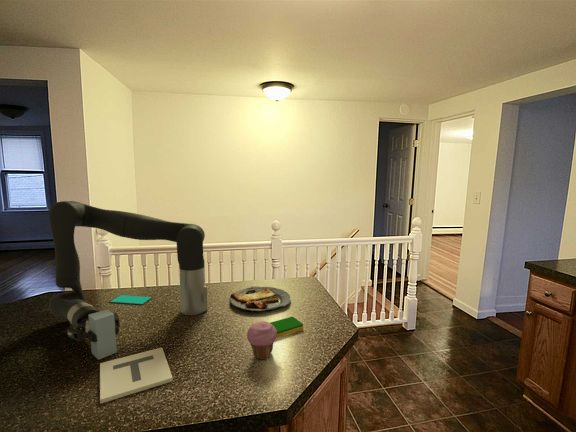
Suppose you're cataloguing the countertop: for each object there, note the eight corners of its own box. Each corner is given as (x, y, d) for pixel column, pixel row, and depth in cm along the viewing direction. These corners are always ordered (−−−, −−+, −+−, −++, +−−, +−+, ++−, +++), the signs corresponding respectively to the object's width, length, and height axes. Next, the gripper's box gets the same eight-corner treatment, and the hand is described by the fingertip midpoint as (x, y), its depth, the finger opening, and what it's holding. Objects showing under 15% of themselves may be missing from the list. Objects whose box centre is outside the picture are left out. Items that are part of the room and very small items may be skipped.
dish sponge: (258, 332, 107) (258, 325, 106) (292, 322, 114) (292, 315, 114) (268, 342, 101) (268, 334, 100) (303, 330, 108) (303, 324, 108)
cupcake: (272, 366, 87) (272, 332, 86) (242, 361, 90) (242, 328, 88) (280, 349, 96) (280, 318, 95) (253, 345, 98) (253, 314, 97)
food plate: (241, 319, 114) (241, 310, 114) (221, 297, 135) (221, 289, 134) (300, 307, 127) (300, 298, 126) (274, 288, 147) (274, 281, 146)
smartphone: (120, 294, 135) (152, 297, 133) (120, 296, 135) (153, 298, 133) (108, 301, 128) (142, 304, 126) (108, 303, 128) (142, 306, 126)
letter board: (162, 350, 95) (162, 347, 94) (172, 381, 81) (172, 377, 81) (100, 366, 87) (100, 363, 86) (100, 403, 73) (100, 399, 73)
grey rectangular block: (109, 346, 97) (107, 309, 95) (116, 352, 93) (114, 314, 92) (91, 353, 93) (88, 314, 91) (98, 359, 90) (95, 320, 88)
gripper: (56, 313, 95) (76, 332, 84) (107, 299, 106) (131, 314, 95) (59, 337, 96) (79, 358, 85) (109, 320, 107) (132, 337, 96)
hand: (106, 335), depth 90 cm, fingers closed on grey rectangular block, 5 cm apart
